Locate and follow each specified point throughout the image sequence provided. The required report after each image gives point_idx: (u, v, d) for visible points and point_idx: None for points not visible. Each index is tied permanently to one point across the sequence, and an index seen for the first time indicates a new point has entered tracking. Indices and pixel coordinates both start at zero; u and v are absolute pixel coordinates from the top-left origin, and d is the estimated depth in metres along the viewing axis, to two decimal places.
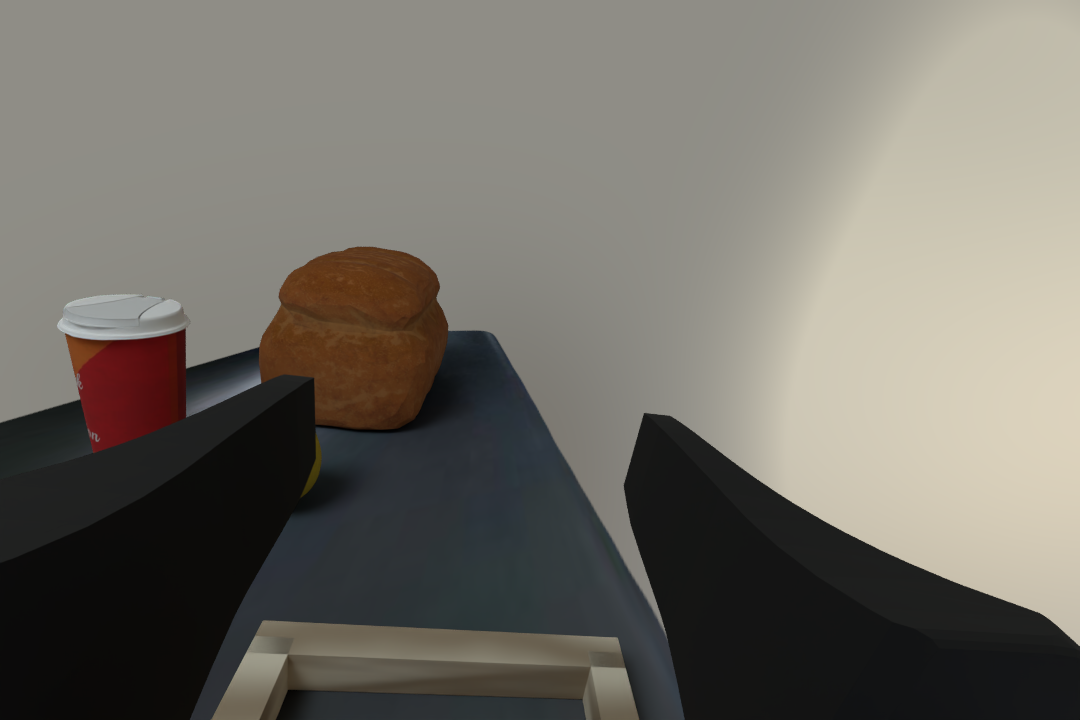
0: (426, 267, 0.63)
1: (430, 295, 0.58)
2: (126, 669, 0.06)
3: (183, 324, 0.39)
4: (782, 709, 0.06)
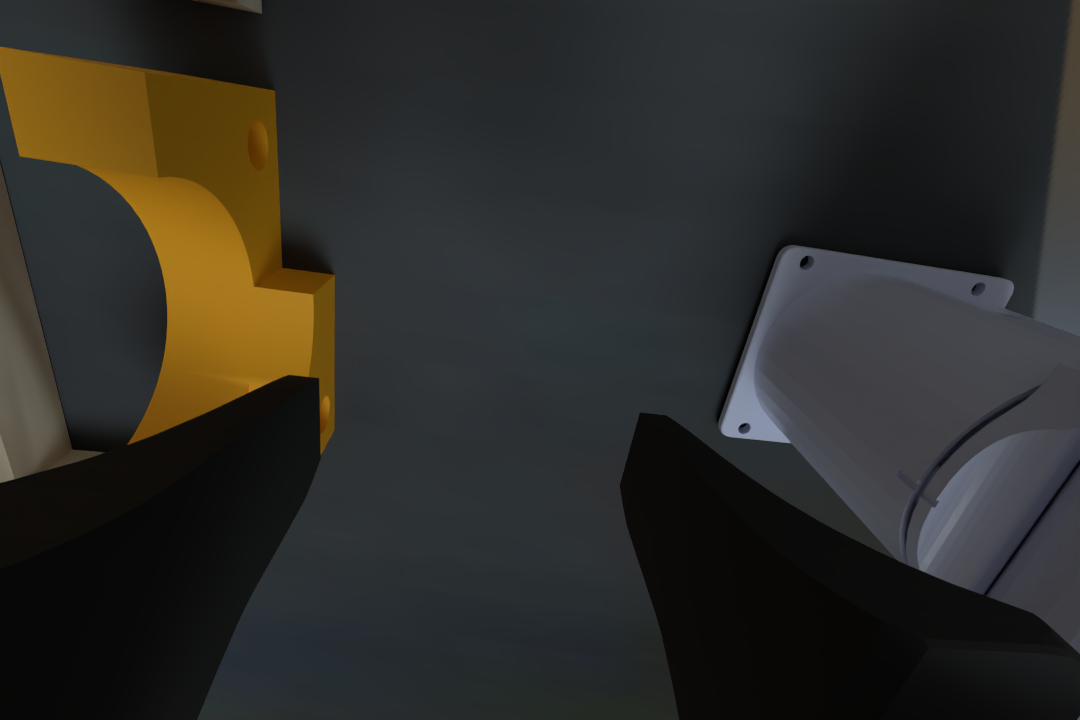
0: None
1: None
2: (136, 669, 0.06)
3: None
4: (774, 709, 0.06)
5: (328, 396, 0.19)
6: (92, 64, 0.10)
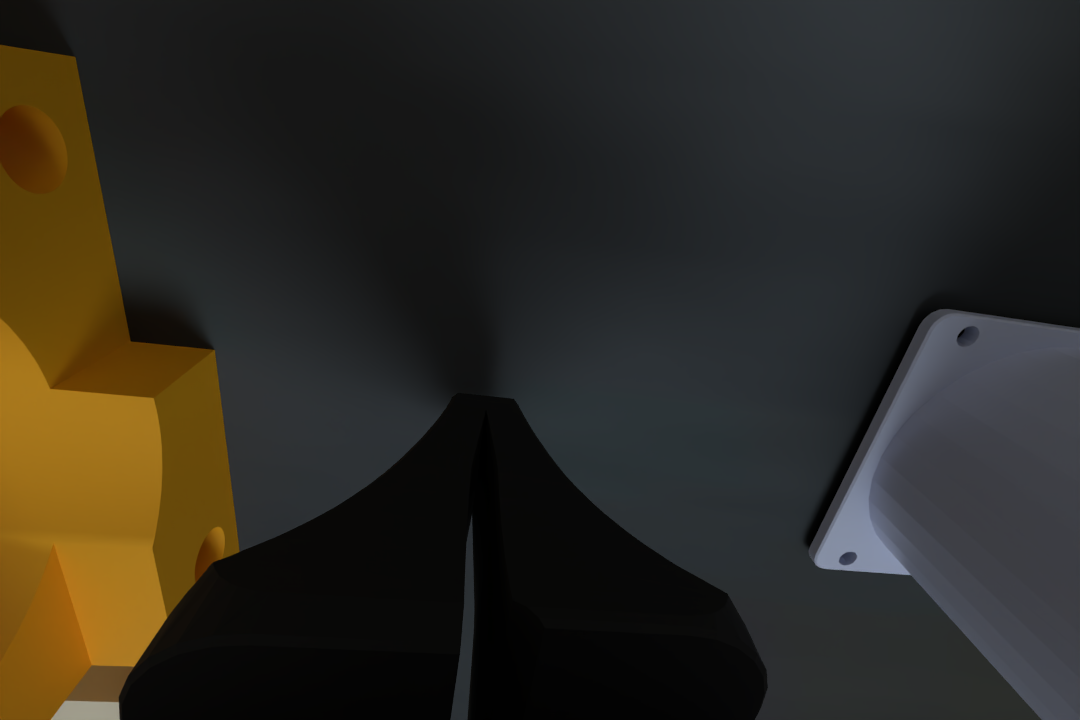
0: None
1: None
2: None
3: None
4: (484, 700, 0.06)
5: (219, 526, 0.13)
6: None
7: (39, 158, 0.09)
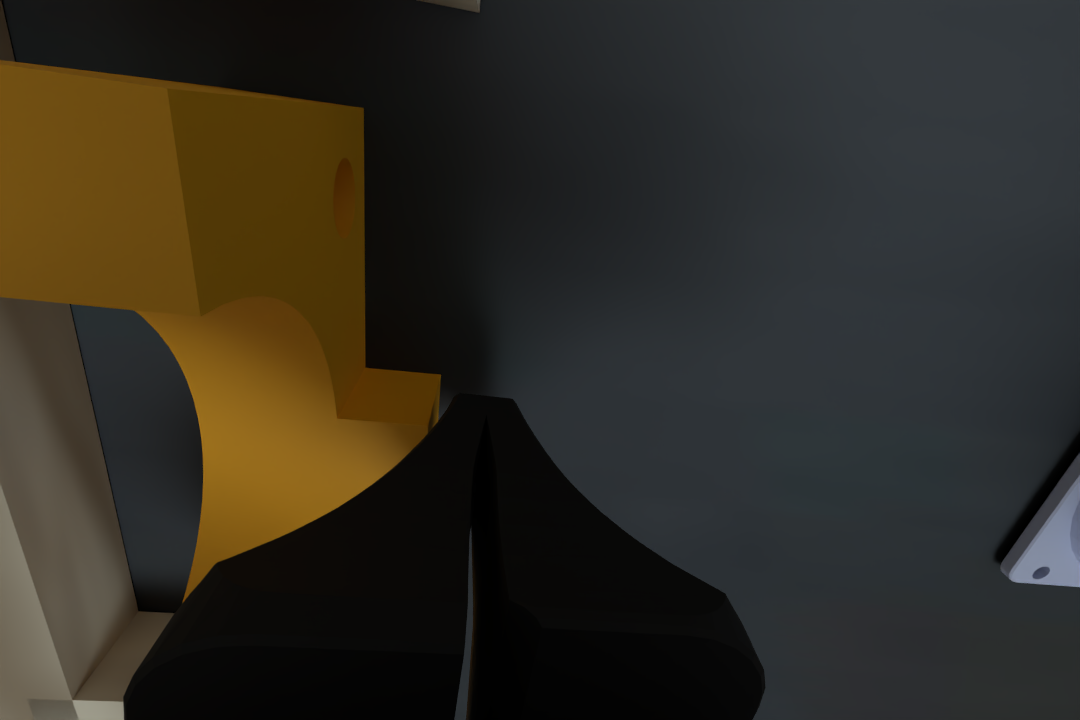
0: None
1: None
2: None
3: None
4: (482, 700, 0.06)
5: None
6: (41, 73, 0.04)
7: None
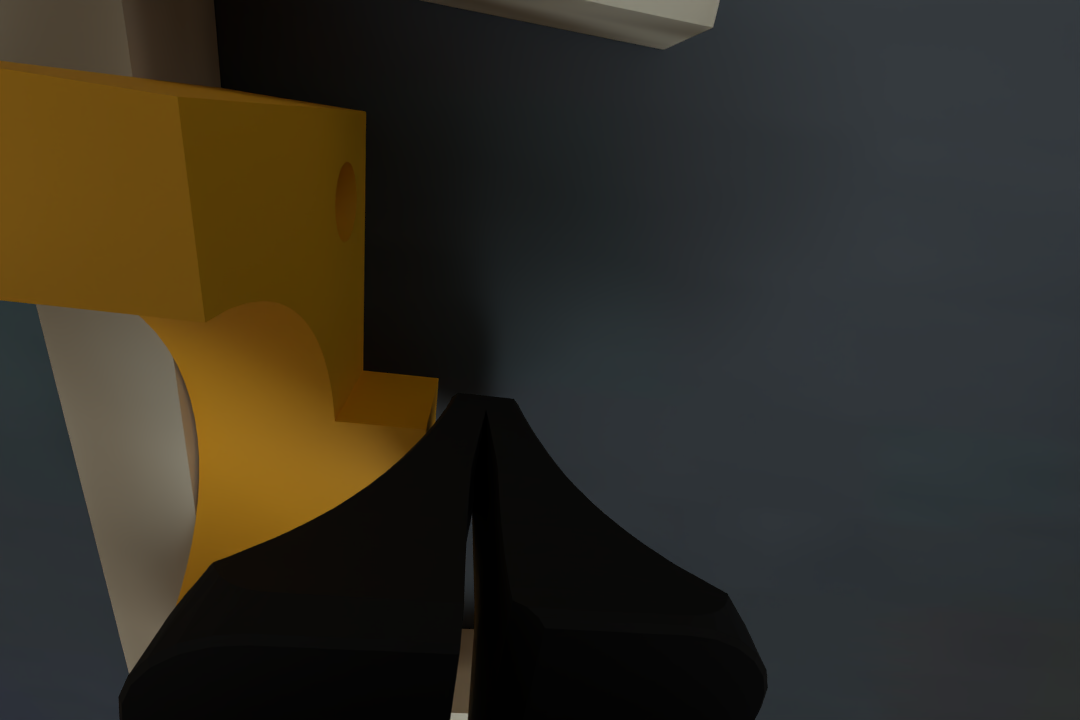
0: None
1: None
2: None
3: None
4: (484, 700, 0.06)
5: None
6: (51, 79, 0.04)
7: None
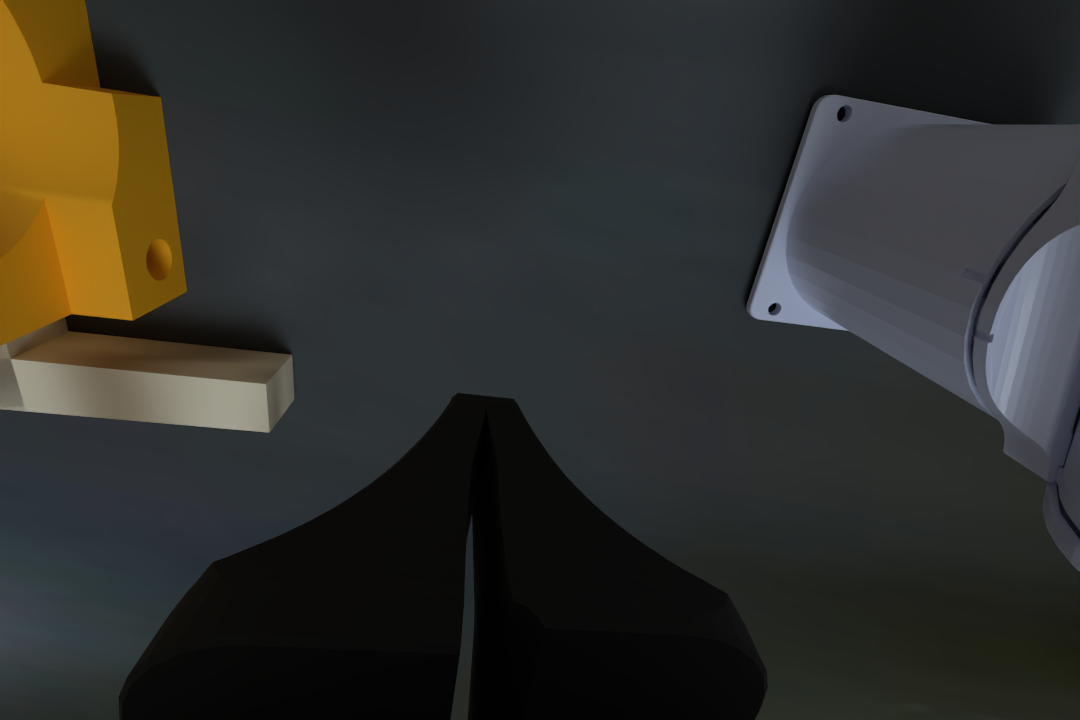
0: None
1: None
2: None
3: None
4: (484, 700, 0.06)
5: (167, 242, 0.17)
6: None
7: None
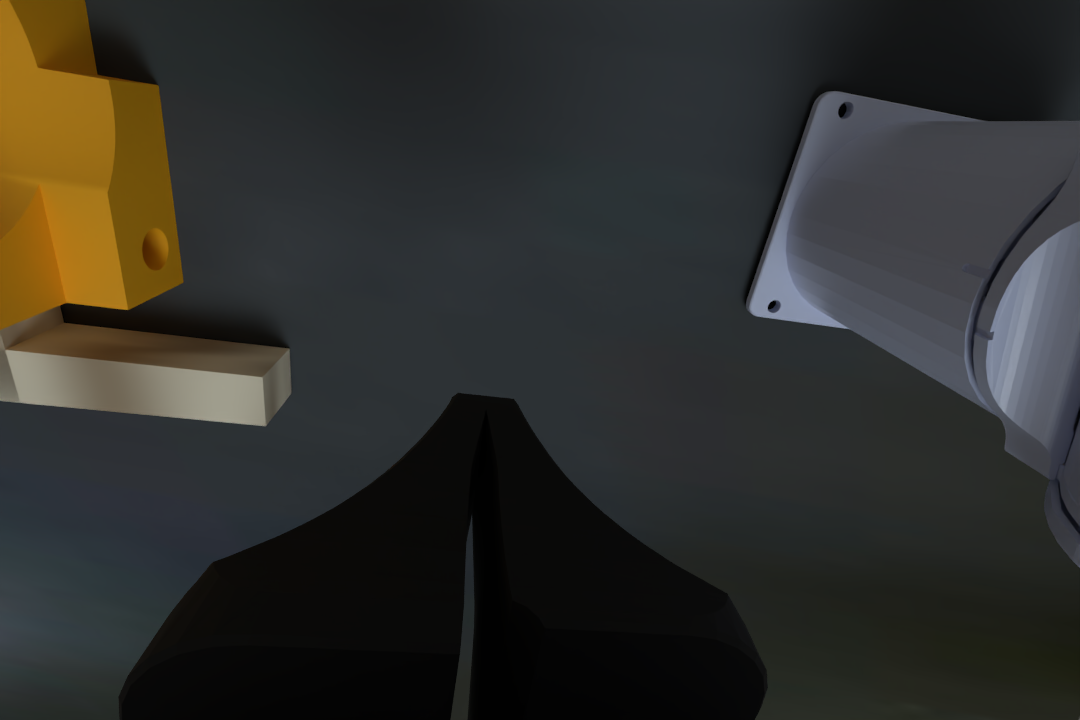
0: None
1: None
2: None
3: None
4: (484, 700, 0.06)
5: (163, 232, 0.17)
6: None
7: None
